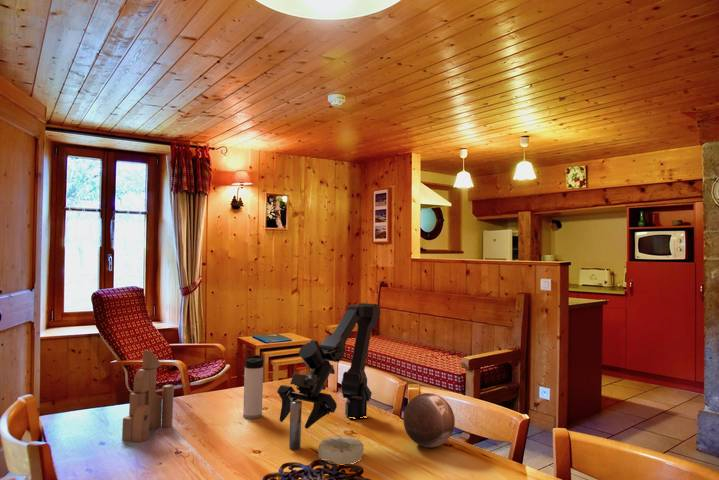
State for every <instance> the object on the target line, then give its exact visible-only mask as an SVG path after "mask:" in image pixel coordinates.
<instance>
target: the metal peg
mask: <svg viewBox="0 0 719 480" xmlns="http://www.w3.org/2000/svg"><path fill="white" fill-rule="evenodd" d="M302 406H303V401H302V400H298V399H297V400H295V401H291V403H290V413H289V436H288V437H289V440H288V444H289V445H288V449H289V450H290V449H292V450H291V451H298V449H299V450H301V440H302V439H301V437H302V410H303V409H302V408H303V407H302Z"/></svg>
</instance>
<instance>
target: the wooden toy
mask: <svg viewBox="0 0 719 480" xmlns="http://www.w3.org/2000/svg"><path fill="white" fill-rule="evenodd" d="M161 366H162V363H161V362H160V361H159V359H158V357H156V355H155V354H154V353H153V352H152V350H151V349H143V350H142V366H141V368H140V369H138V370H137V371H136V373H135V374H134V377H133V392H131V393H130V394H129V406H128V407H129V410H128V411H129V413H128V415H127V416H125V417H122V430H121V431H122V435H121V440H122V441H126V442H136V443H142V442H144V441H147V440H148V439H149V433H150V432H149V431H150V430H155V429H158V428H159V427H161V428H166V429H168V428H171V427H173V421H174V420H173V419H174V418H173V417H174V416H173V415H174V414H173V413H174V394H175V393H174V392H175V391H174V388H175V386H174V385H173V384H165V385H163V386H162V396H160V395H158V394H157V390H156V389H157V369H158V368H160V367H161Z"/></svg>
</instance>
